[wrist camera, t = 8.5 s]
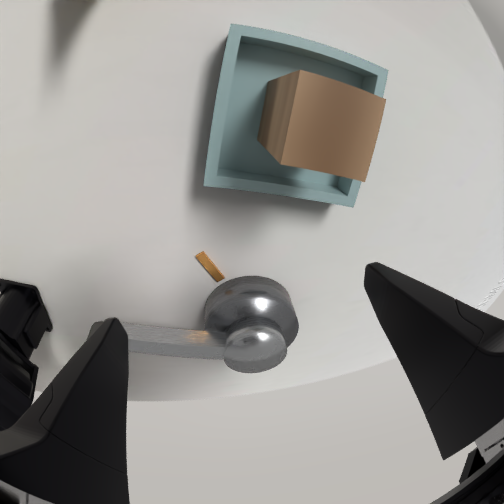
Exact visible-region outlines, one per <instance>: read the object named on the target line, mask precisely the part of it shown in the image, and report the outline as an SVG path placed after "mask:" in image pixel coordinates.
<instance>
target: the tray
mask: <svg viewBox="0 0 504 504" xmlns="http://www.w3.org/2000/svg"><path fill="white" fill-rule="evenodd" d="M298 70H303V71H307V72H311V73H314V74H318V75H321V76H324V77H328V78H331V79H334V80H337V81H340V82H343V83H346V84H348V85H351V86H354V87H357V88H359V89H362V90H364V91H367V92H369V93H372V94H374V95H377V96H379V97H381V98H383V95H384V90H385V85H386V80H387V75H388V70H387V69H384V68H382V67H380V66H378V65H376V64H374V63H371V62H369V61H367V60H364V59H362V58H360V57H357V56H355V55H352V54H350V53H347V52H344V51H342V50H339V49H336V48H333V47H330V46H327V45H324V44H321V43H318V42H315V41H311V40H308V39H304V38H301V37H297V36H293V35H289V34H285V33H281V32H276V31H272V30H267V29H262V28H256V27H251V26H244V25H237V24H231V25H230V29H229V34H228V38H227V43H226V48H225V53H224V58H223V63H222V68H221V73H220V78H219V84H218V89H217V95H216V101H215V107H214V113H213V119H212V126H211V132H210V139H209V146H208V154H207V161H206V169H205V177H204V186H208V187H218V188H227V189H236V190H244V191H252V192H260V193H268V194H275V195H282V196H289V197H295V198H302V199H308V200H314V201H320V202H326V203H331V204H337V205H343V206H348V207H354V204H355V201H356V198H357V194H358V191H359V188H360V185H361V181H358V180H354V179H350V178H346V177H341V176H337V175H333V174H328V173H323V172H318V171H313V170H308V169H303V168H298V167H293V166H287V165H281V164H280V163H279V162H278V161H277V160H276V159H275V158H274V157H273V156H272V155H271V154H270V153H269V152H268V151H267V150H266V149H265V148H264V147H263V145H262V144H261V143H260V142H259V141H258V140H257V137H258V131H259V126H260V121H261V115H262V110H263V105H264V100H265V95H266V90H267V85H268V81H270V80H273V79H275V78H278V77H281V76H284V75H286V74H289V73H292V72H295V71H298Z"/></svg>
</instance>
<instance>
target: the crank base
mask: <svg viewBox="0 0 504 504" xmlns="http://www.w3.org/2000/svg"><path fill="white" fill-rule="evenodd" d="M196 258H197V259H198V260H199V261H200V262H201V264H202V265H203V266H204V267H205V268H206V269H207V271H208V272H209V273H210V274H211V275H212V276H213V278H214V279H215V280H216V281H217V282H219V281H221V280H222V279H224V276H223V275H222V273H221V272H220V271H219V270H218V269H217V267H216V266H215V265H214V264H213V262H212V261H211V260H210V259H209V258H208V256H207V255H206V254H205V253H204V252H201V253H199V254H198V255H196ZM248 317H264V318H269V319H271V320H273V321H275V322H276V323H278V324H279V326H280V327H281V329H282V333H283V337H284V340H285V344H286V348H287V347H288V346H289V345H290V344H291V343H292V342H293V341H294V339H295V338H296V336H297V333H298V328H299V324H298V320H297V317H296V314H295V311H294V308H293V305H292V302H291V299H290V296H289V294H288V292H287V291H286V289H285V288H284V287H283V286H282V285H281V284H279V283H278V282H276V281H274V280H272V279H269V278H265V277H260V276H244V277H238V278H235V279H232V280H229V281H227V282H225V283H223V284H221V285H220V286H218V287H217V288H216V289H215V290H214V291H213V292H212V293H211V294H210V296H209V297H208V299H207V301H206V304H205V331H216V332H225V330H226V329H227V328H228V327H229V326H230V325H231V324H233V323H234V322H236V321H238V320H241V319H244V318H248Z"/></svg>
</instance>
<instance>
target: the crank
mask: <svg viewBox="0 0 504 504" xmlns="http://www.w3.org/2000/svg"><path fill="white" fill-rule="evenodd" d="M102 323H103V321H100V322H96V323H94V324H93V325H92V327H91V330H90V332H89V335H88V338H87V340H88V339H89V337H90V336H91V335H92V334H93V333H94V332H95V331H96V330H97V329H98V327H99V326H100V325H101V324H102ZM120 323H121V324H122V326H123V327H124V329H125V330H126V332H127V334H128V351H132V352H139V353H147V354H156V355H165V356H176V357H188V358H203V359H224V361H225V363H226V365H227V366H228V367H230V368H231V369H233V370H235V371H238V372H243V373H258V372H263V371H266V370H269V369H272V368H274V367H275V366H277V365H279V364H280V363H281V362H282V361H283V360H284V358H285V357H286V354H287V348H286V344H285V340H284V337H283V333H282V329H281V327H280V326H279V324H278V323H276V322H275V321H273V320H271V319H269V318H264V317H248V318H244V319H241V320H238V321H236V322H234V323H233V324H231V325H230V326H229V327H228V328H227V329H226V330H225V332H216V331H200V330H186V329H175V328H164V327H154V326H145V325H137V324H129V323H122V322H120Z"/></svg>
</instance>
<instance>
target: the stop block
mask: <svg viewBox="0 0 504 504" xmlns="http://www.w3.org/2000/svg"><path fill="white" fill-rule="evenodd" d="M385 102H386V99H384V98H381V97H379V96H377V95H374V94H372V93H369V92H367V91H364V90H362V89H359V88H357V87H354V86H351V85H348V84H346V83H343V82H340V81H337V80H334V79H331V78H328V77H324V76H321V75H318V74H314V73H311V72H307V71H303V70H298V71H295V72H292V73H289V74H286V75H284V76H281V77H278V78H275V79H273V80H270V81H268V85H267V90H266V95H265V100H264V105H263V110H262V115H261V121H260V126H259V131H258V137H257V140H258V141H259V142H260V143H261V144H262V145H263V147H264V148H265V149H266V150H267V151H268V152H269V153H270V154H271V155H272V156H273V157H274V158H275V159H276V160H277V161H278V162H279V163H280V164H281V165H287V166H293V167H298V168H303V169H308V170H313V171H318V172H323V173H328V174H333V175H337V176H341V177H346V178H350V179H354V180H358V181H362V182H365V180H366V176H367V173H368V170H369V166H370V163H371V159H372V155H373V152H374V148H375V144H376V140H377V136H378V132H379V128H380V124H381V120H382V116H383V111H384V107H385Z"/></svg>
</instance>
